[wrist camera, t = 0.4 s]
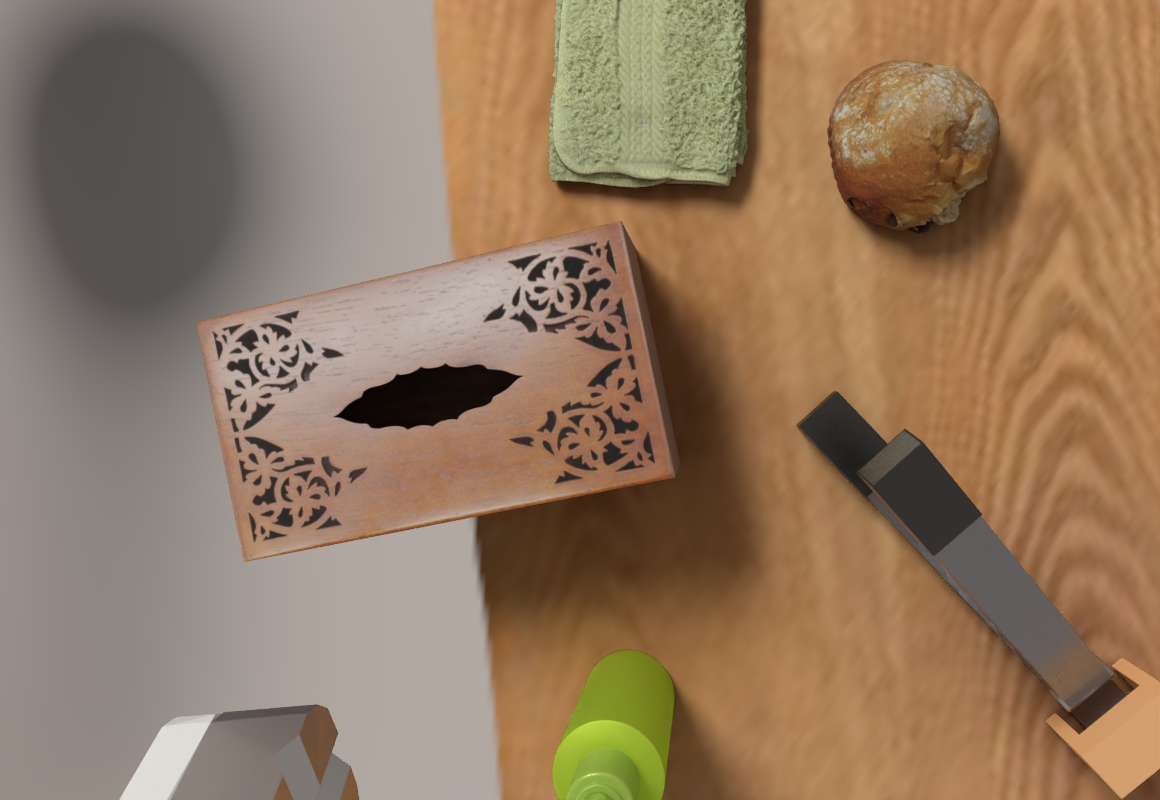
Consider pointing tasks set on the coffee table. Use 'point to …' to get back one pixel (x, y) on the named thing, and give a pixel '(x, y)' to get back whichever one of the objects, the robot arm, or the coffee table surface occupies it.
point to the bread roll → (911, 143)
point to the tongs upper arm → (983, 566)
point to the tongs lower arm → (850, 450)
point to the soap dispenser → (618, 732)
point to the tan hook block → (1121, 734)
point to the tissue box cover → (440, 394)
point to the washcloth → (648, 92)
